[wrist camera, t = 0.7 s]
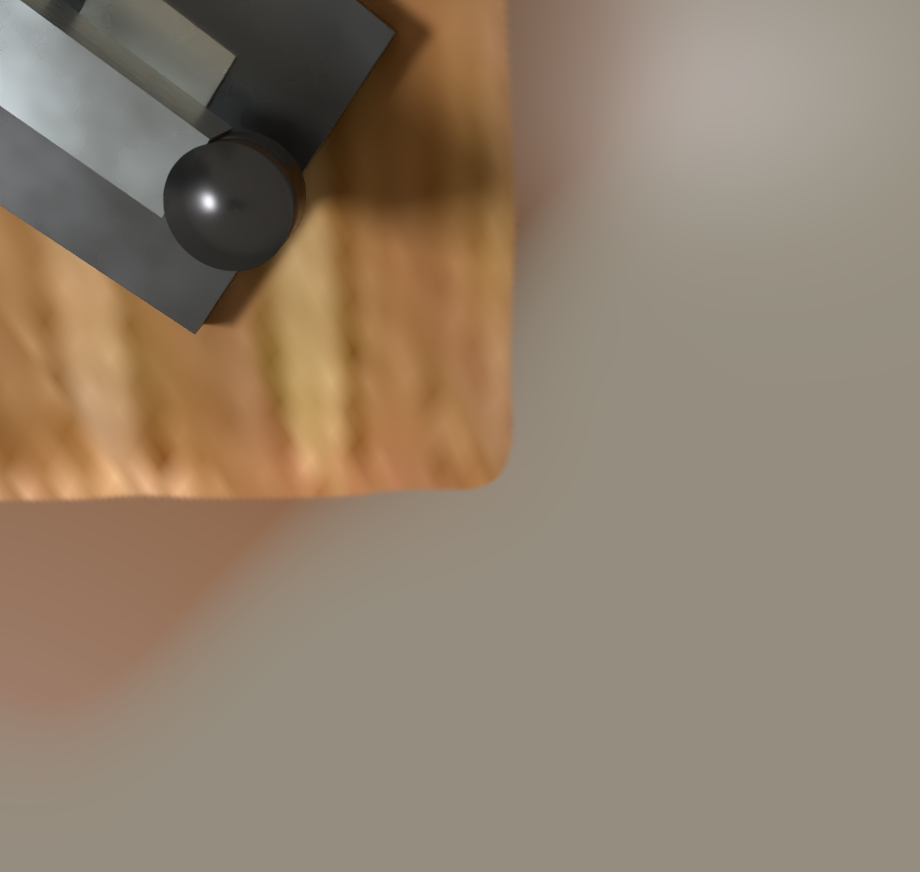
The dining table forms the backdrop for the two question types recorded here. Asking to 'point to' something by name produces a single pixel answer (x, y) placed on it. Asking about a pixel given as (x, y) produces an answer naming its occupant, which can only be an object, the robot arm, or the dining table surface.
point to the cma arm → (148, 136)
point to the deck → (222, 92)
